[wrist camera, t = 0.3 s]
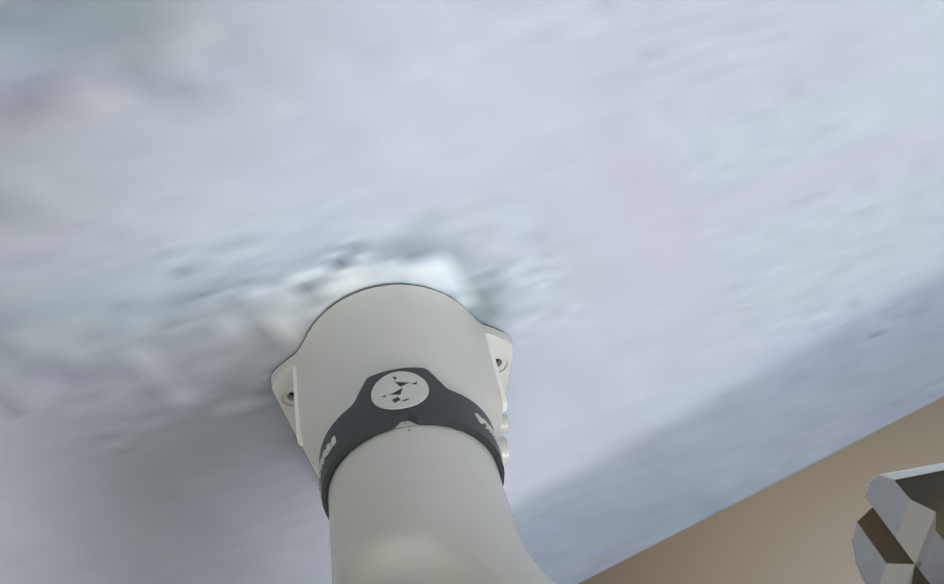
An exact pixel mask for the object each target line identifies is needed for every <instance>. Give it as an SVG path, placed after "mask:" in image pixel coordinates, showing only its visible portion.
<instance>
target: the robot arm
mask: <svg viewBox="0 0 944 584" xmlns="http://www.w3.org/2000/svg"><path fill="white" fill-rule="evenodd" d="M512 357H513V345H512V340H511V338H510V337H509V336H508V335H507V334H505V333H503V332H501V331H499V330H497V329H494V328H492V327H489V326H486V325H483V324H481V323H480V322H478V321H477V320H476V319H475V318H474V317H473V316H472V315H471V314H470V313H469V312H468V311H467V310H466V309H465V308H464V307H463V306H462V305H460V304H459V303H458V302H456V301H455V300H453V299H452V298H450V297H448V296H446V295H445V294H442V293H440V292H438V291H435V290H432V289H429V288H425V287H420V286H414V285H385V286H379V287H374V288H370V289H366V290H363V291H360V292H358V293H355V294H353V295H350V296H348V297H346V298H345V299H343V300H341V301H339V302H338V303H336V304H335V305H333V306H332V307H331V308H329V309H328V310H327V311H326V312H325V313H324V314H323V315H322V316H321V317H320V318H319V319H318V320H317V321H316V322H315V324H314V325H313V326H312V328H311V329H310V331H309V332H308V334H307V336H306V338H305V340H304V341H303V343H302V345H301V347H300V348H299V350H298V351H297V352H296V354H294V355H293V356H292V357H290V358H289V359H288V360H286V361H285V362H284V363H283V364H281V365H280V366H279V367H278V368H277V369H276V370H275V371H274V372H273V374H272V376H271V385H272V390H273V393H274V395H275V397H276V398H277V400H278V402H279V404H280V406H281V408H282V410H283V412H284V414H285V416H286V417H287V419H288V421H289V423H290V425H291V427H292V429H293V431H294V433H295V435H296V436H297V441H298V444H299V445H300V446H302V448H303V450H304V452H305V454H306V455H307V457H308V459H309V461H310V463H311V465H312V467H313V469H314V471H315V473H316V474H317V476H318V480H319V490H321V498H322V503H323V507H324V510H325V513H326V515H327V517H328V519H329V524H330V545H331V566H332V584H557V583H556V582H554V581H553V580H552V579H551V578H550V577H549V576H548V575H547V574H546V572H545V571H544V570H543V569H542V568H541V567H540V566H539V564H538V563H537V562H536V560H535V559H534V558H533V556H532V555H531V553H530V552H529V550H528V548H527V547H526V545H525V543H524V540H523V538H522V536H521V533H520V531H519V528H518V526H517V524H516V521H515V519H514V516H513V514H512V511H511V508H510V506H509V503H508V500H507V497H506V494H505V491H504V488H503V484H504V467H503V466H504V465H506V464H507V463H508V444H507V440H506V438H505V437H503V436H499V433H507V432H508V430H509V420H508V416H507V415H503V412H505V411H506V410H507V400H506V396H505V395H506V390H507V384H508V379H509V373H510V368H511V362H512ZM496 359H499V360H498V361H497V362H496ZM290 392H294V395H290V394H289V393H290ZM865 497H866V499H867V500H868V501H869V503H870V504H871V505H872V508H871V509H870V510H869V511H868V512H867V513H866V514H865V515H864V516H863V517H862V518H861V519H860V520H858V521H857V524H856V528H855V532H854V536H853V540H852V543H853V549H854V556H855V563H856V565H857V567H858V570H859V572H860V574H861V577H862V579H863V581H864V582H865V584H944V463H940V464H934V465H929V466H923V467H918V468H912V469H907V470H902V471H896V472H891V473H885V474H880V475H878V476H877V477H876V478H874V479H873V480H872V481H871V482H870V484H869V487H868V490H867V493H866V496H865Z"/></svg>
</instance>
